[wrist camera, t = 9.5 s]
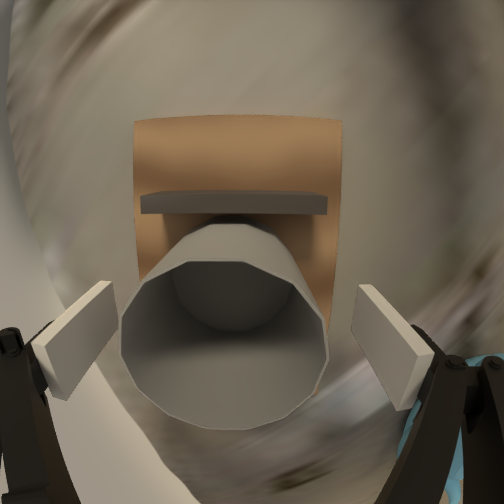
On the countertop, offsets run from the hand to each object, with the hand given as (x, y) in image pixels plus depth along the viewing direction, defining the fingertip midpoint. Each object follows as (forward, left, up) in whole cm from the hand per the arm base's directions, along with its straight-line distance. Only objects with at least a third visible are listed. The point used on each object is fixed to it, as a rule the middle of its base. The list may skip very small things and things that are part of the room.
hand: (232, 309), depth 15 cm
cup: (0, 0, -6) cm, 6 cm away
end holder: (0, 0, -7) cm, 7 cm away
